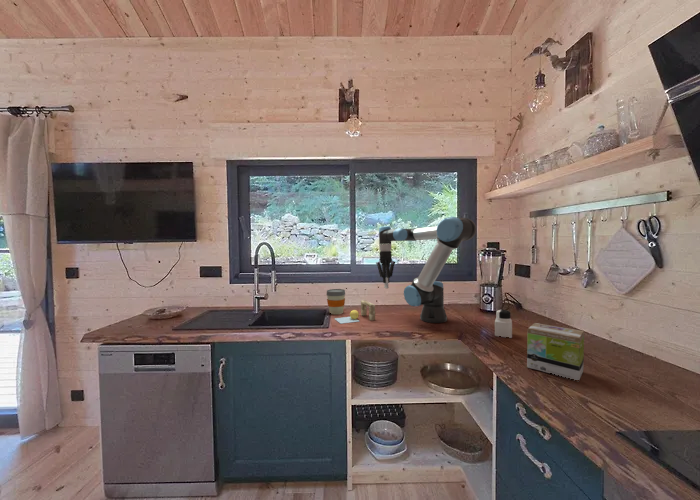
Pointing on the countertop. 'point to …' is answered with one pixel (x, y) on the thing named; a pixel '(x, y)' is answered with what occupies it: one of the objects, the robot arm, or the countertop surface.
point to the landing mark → (346, 320)
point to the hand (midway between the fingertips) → (386, 288)
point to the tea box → (555, 350)
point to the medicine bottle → (503, 324)
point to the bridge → (371, 309)
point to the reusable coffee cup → (336, 300)
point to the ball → (354, 314)
